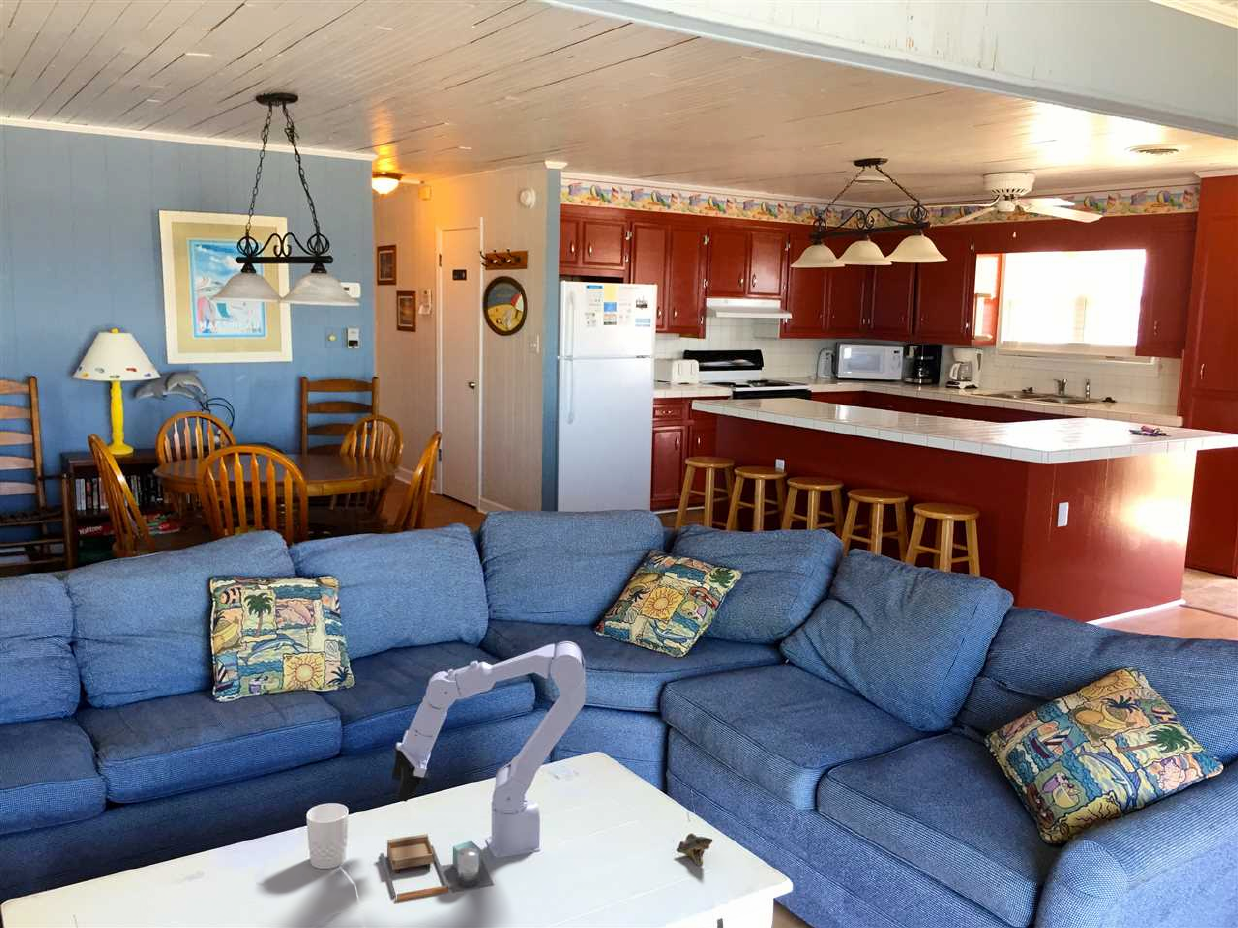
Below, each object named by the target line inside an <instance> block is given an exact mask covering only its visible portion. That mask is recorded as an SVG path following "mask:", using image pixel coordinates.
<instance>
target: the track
mask: <svg viewBox="0 0 1238 928" xmlns="http://www.w3.org/2000/svg"><path fill="white" fill-rule="evenodd" d="M431 847H432V849H433V852H434V854H435V860H434V864H435V866H436V868H437V871H438V873H439V876H440V878H441V880H442V884H443V885H441V886H436V887H431V888H424V889H419V890H414V891H408V892H403V893H402V892H401V893H397V894H396V891H395V888H394V885H393V880H392V877H391V874H390V871H389V868H388V864H387V860H386V858H385V854H384V852H381V853H380V855H379V856H380V859H381V862H382V863H381V864H382V866H383V870H384V873H385V877H386V881H387V885H388V887H389V891H390V894H391V898H392V900H395V899H396V901H397V902H401V901H407V900H414V899H418V898H419V899H420V898H425V897H430V896H435V895H442V894H446V893H447V890H449V889H450V886H449V883H448V881H447V878H446V876H445V873H444V871H443V868H442V865H441V862H440V860H439V857H438V854H437V852H436V850H435V847H434V845H431Z"/></svg>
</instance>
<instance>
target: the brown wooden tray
mask: <svg viewBox="0 0 1238 928" xmlns="http://www.w3.org/2000/svg"><path fill="white" fill-rule="evenodd" d="M386 858H387V860H389V862H390V865H391V869H392V871H395V874H399V873H400V869H401V870H402V869H406V868H412V867H413V868H414V867H420V866H424V865H426V868H427V869H431V864H435V854H434V852H433V849H432V847H431V841H430V839H429V834H428V833H427V834H420V835H415V836H406V837H401V838H396V839H395V838H393V839H388V840H386Z"/></svg>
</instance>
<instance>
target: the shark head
mask: <svg viewBox="0 0 1238 928" xmlns="http://www.w3.org/2000/svg"><path fill="white" fill-rule="evenodd" d="M712 842H713V839H711V838H709V837H704V836H703V837H702V836H697V835H695V834H694V833H689V834H687V836H686V837H685V840H680V841H679V842H678V843H679V844H678V845H677V848H676V851H677V852H678V853H681V854H683V855H686V856H688V857H690V858H691V859H692V860H693V861H694V863H695V864H696V865H697V866H703V865H704V859H703V857H702V856H703V855H702V854H703V853H704V852H705V851H706V850H708V849H709V848H710V844H711V843H712Z"/></svg>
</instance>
